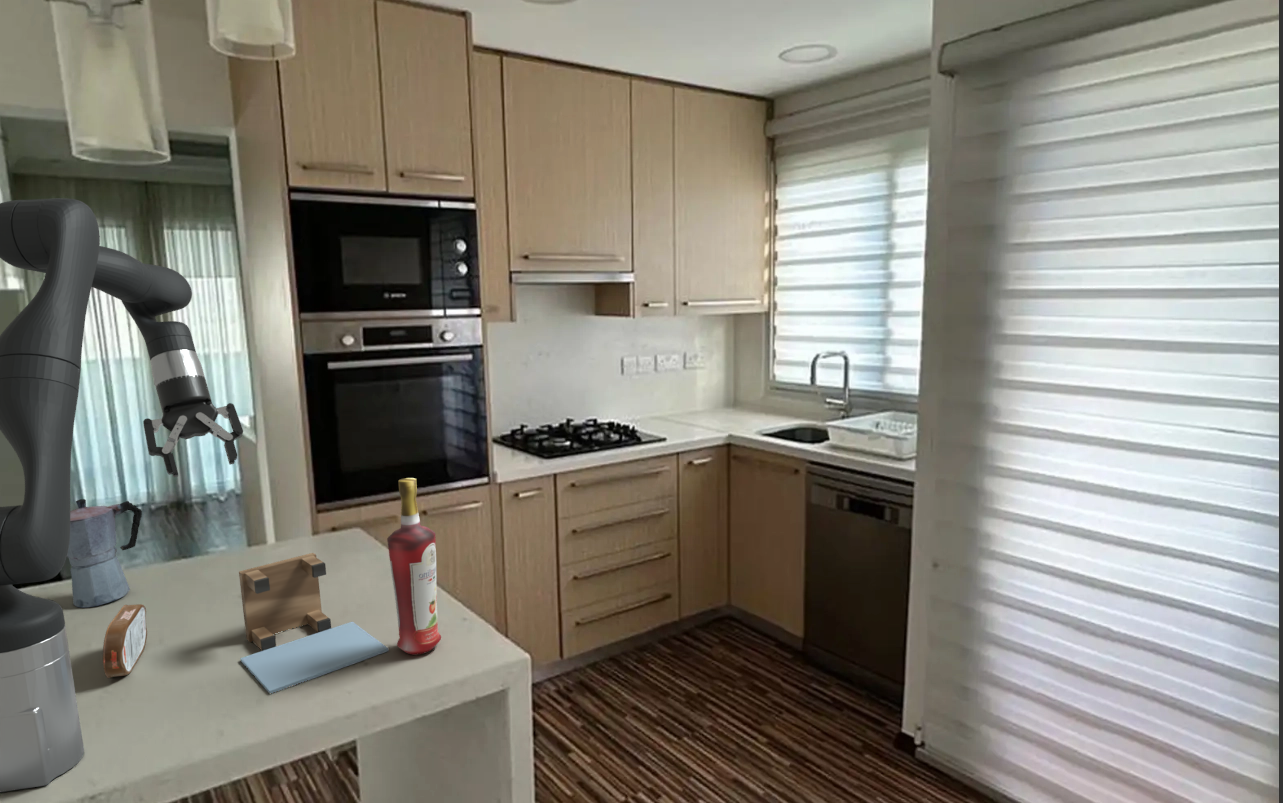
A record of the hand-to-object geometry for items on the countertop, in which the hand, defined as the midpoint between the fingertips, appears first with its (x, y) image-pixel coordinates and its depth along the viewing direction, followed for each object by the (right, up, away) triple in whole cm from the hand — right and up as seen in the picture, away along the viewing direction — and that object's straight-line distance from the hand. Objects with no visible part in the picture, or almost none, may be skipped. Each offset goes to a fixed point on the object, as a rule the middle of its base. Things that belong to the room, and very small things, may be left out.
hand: (204, 469), depth 128 cm
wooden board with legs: (+15, -28, -1) cm, 32 cm away
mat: (+23, -29, -8) cm, 38 cm away
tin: (-6, -30, -9) cm, 32 cm away
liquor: (+39, -29, -7) cm, 49 cm away
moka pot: (-29, -27, +17) cm, 43 cm away
